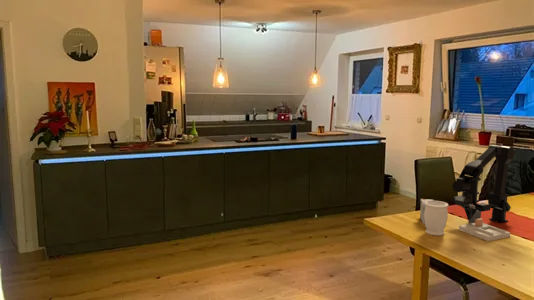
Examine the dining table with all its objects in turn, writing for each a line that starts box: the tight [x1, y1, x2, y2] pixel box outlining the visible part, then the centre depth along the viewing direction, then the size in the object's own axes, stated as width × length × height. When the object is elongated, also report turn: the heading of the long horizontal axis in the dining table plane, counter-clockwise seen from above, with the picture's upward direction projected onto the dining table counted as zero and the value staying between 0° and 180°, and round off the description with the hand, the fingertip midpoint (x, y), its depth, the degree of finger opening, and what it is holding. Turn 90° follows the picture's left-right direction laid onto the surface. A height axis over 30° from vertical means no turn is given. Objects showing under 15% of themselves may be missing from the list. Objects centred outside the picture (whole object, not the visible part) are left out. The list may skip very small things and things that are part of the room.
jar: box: [424, 200, 449, 237], centre depth 199 cm, size 11×10×15 cm
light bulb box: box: [419, 198, 435, 225], centre depth 217 cm, size 11×7×11 cm, turn 168°
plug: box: [467, 210, 482, 224], centre depth 214 cm, size 4×4×7 cm
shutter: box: [469, 218, 489, 229], centre depth 202 cm, size 6×6×4 cm
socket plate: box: [458, 222, 511, 242], centre depth 199 cm, size 14×17×3 cm
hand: (469, 219), depth 207 cm, fingers closed
